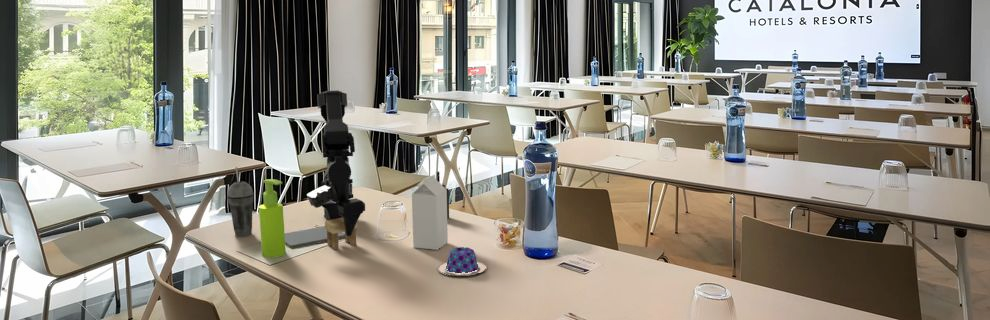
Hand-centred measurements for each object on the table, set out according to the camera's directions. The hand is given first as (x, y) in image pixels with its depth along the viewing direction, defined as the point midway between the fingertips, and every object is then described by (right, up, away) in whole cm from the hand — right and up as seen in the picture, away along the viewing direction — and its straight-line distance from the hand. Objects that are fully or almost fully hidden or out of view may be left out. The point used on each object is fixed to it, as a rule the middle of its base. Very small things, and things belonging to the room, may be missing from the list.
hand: (341, 231), depth 189 cm
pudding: (+34, -8, -19) cm, 39 cm away
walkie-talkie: (+25, +1, +27) cm, 37 cm away
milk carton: (+24, -4, 0) cm, 25 cm away
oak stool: (0, -4, +1) cm, 4 cm away
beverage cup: (-31, -2, +11) cm, 33 cm away
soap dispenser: (-16, -5, -6) cm, 18 cm away
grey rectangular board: (-10, -2, +8) cm, 13 cm away
